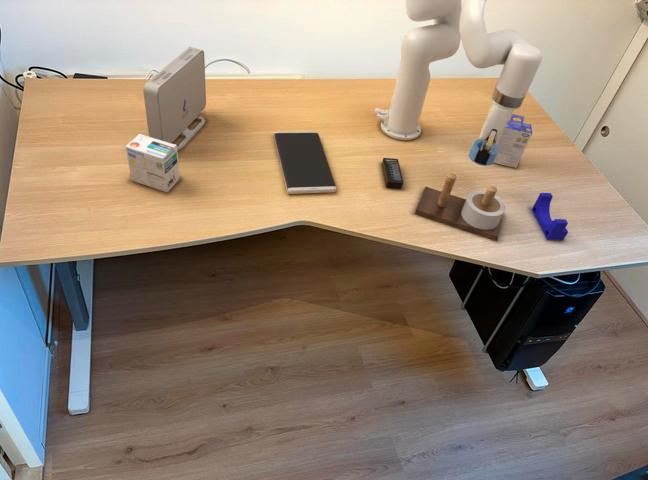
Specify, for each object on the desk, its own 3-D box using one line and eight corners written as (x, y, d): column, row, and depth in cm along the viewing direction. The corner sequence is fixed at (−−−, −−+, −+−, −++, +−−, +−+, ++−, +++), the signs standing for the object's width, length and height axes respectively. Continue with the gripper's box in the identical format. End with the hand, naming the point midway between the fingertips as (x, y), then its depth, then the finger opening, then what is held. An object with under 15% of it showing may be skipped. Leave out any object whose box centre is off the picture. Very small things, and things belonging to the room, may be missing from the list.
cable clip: (563, 240, 144) (573, 223, 140) (547, 239, 144) (557, 222, 139) (546, 210, 152) (556, 193, 148) (531, 209, 152) (540, 192, 147)
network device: (171, 159, 148) (164, 92, 133) (142, 150, 149) (132, 82, 135) (213, 114, 165) (211, 50, 150) (187, 106, 166) (182, 42, 152)
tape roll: (466, 160, 147) (471, 149, 144) (471, 147, 152) (475, 136, 149) (491, 168, 146) (496, 157, 143) (495, 155, 151) (499, 144, 148)
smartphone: (317, 135, 164) (318, 130, 163) (336, 193, 146) (337, 188, 145) (273, 136, 161) (273, 131, 160) (287, 195, 144) (288, 190, 142)
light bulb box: (180, 178, 143) (178, 144, 135) (167, 193, 139) (164, 158, 131) (144, 167, 145) (139, 132, 137) (130, 181, 140) (124, 145, 132)
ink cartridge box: (516, 158, 168) (535, 116, 157) (517, 168, 164) (536, 126, 154) (484, 151, 169) (501, 109, 158) (484, 161, 165) (502, 119, 154)
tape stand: (414, 213, 145) (425, 180, 136) (424, 190, 152) (435, 157, 144) (496, 241, 141) (512, 208, 133) (502, 215, 148) (517, 183, 140)
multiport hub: (386, 188, 150) (387, 181, 149) (381, 164, 158) (382, 157, 156) (401, 189, 151) (403, 182, 149) (396, 165, 158) (398, 158, 157)
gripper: (498, 76, 141) (474, 134, 154) (487, 108, 130) (462, 168, 143) (526, 85, 140) (500, 143, 153) (518, 118, 129) (490, 177, 142)
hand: (482, 154), depth 148 cm, fingers closed on tape roll, 6 cm apart
